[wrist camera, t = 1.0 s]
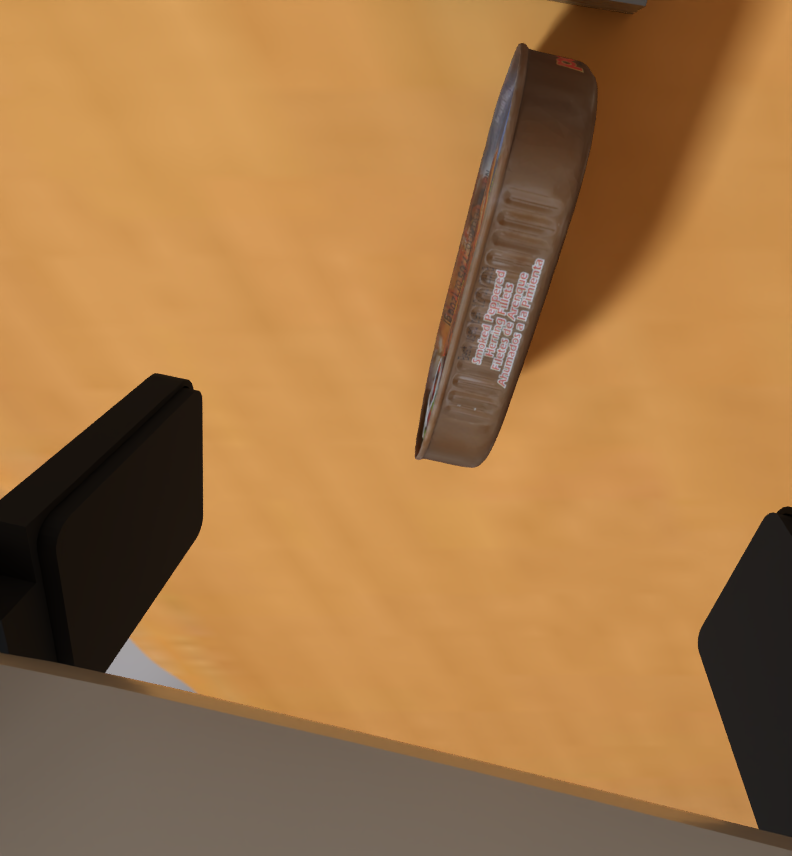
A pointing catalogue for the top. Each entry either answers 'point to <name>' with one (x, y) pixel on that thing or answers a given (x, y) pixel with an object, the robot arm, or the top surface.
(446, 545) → the top surface
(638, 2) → the tray
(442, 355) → the tin
